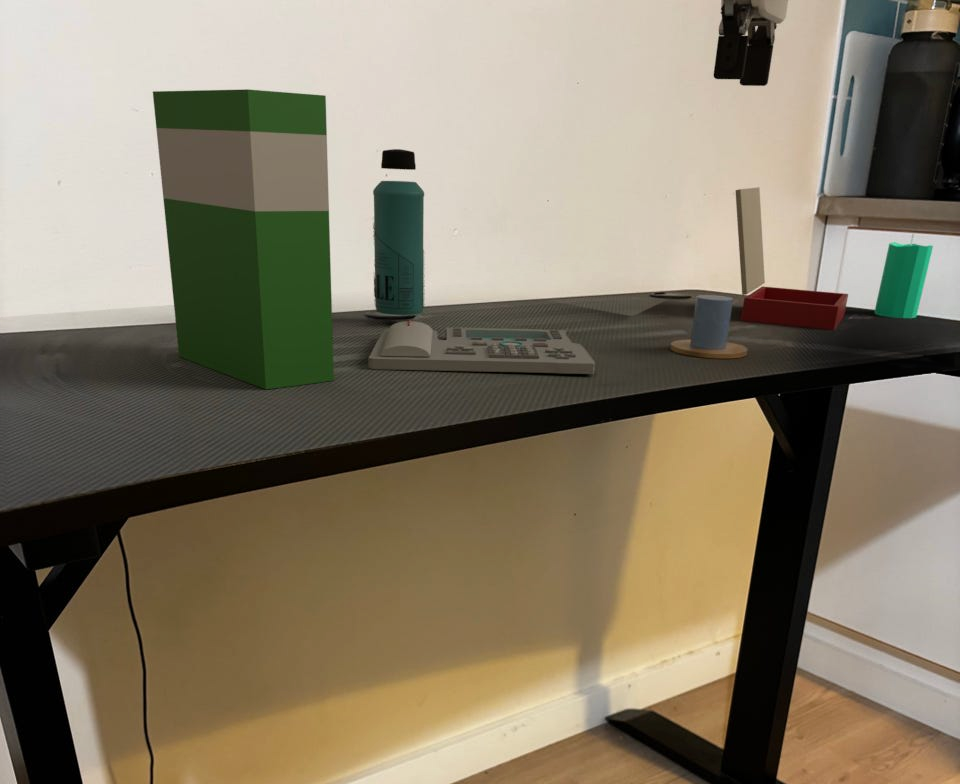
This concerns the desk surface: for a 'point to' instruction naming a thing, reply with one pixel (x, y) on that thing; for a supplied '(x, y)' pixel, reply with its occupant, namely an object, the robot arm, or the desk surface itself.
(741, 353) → the coaster
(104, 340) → the desk surface
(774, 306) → the shallow red crate
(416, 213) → the beverage bottle
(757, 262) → the grey flat panel
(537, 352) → the office telephone
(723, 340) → the blue cylinder
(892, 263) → the candle
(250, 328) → the cereal box
